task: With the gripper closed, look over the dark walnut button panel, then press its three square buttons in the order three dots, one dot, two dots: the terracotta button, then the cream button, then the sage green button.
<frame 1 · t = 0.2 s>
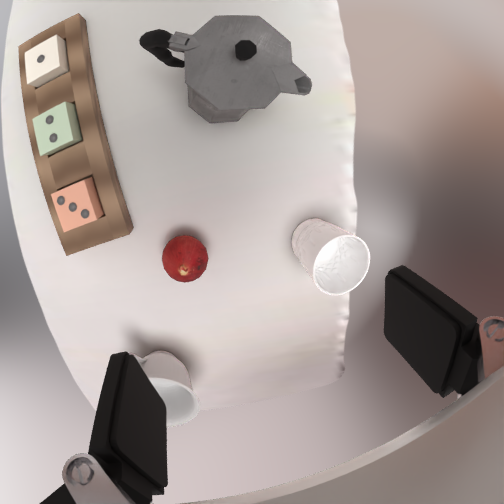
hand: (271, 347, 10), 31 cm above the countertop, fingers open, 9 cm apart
button one: (46, 61, 23), point 4 cm above the countertop, slide at 0.0 cm
button panel: (69, 129, 30), on the countertop
button three: (77, 204, 31), point 4 cm above the countertop, slide at 0.0 cm
white cup: (311, 239, 43), on the countertop
teacup: (157, 356, 45), on the countertop
coffeepot: (213, 88, 33), on the countertop
pomegranate: (185, 248, 40), on the countertop
button two: (57, 129, 27), point 4 cm above the countertop, slide at 0.0 cm
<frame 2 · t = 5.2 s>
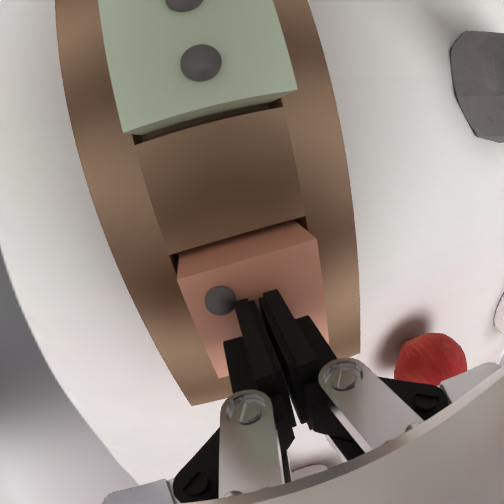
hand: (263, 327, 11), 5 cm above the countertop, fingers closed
button panel: (192, 72, 11), on the countertop
button three: (255, 297, 12), point 3 cm above the countertop, slide at 0.9 cm, touching gripper
teacup: (300, 470, 26), on the countertop
coffeepot: (474, 78, 14), on the countertop
pomegranate: (404, 342, 21), on the countertop
button two: (192, 44, 7), point 4 cm above the countertop, slide at 0.0 cm
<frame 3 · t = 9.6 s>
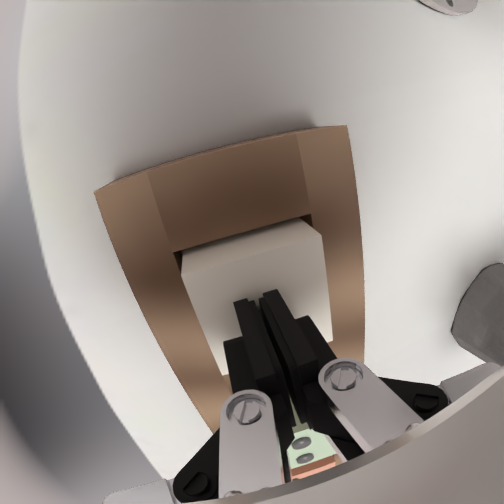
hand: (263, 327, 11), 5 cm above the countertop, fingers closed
button one: (259, 294, 12), point 3 cm above the countertop, slide at 1.0 cm, touching gripper
button panel: (279, 387, 19), on the countertop
button three: (303, 467, 20), point 3 cm above the countertop, slide at 1.3 cm
coffeepot: (474, 302, 21), on the countertop
button two: (296, 431, 15), point 4 cm above the countertop, slide at 0.0 cm
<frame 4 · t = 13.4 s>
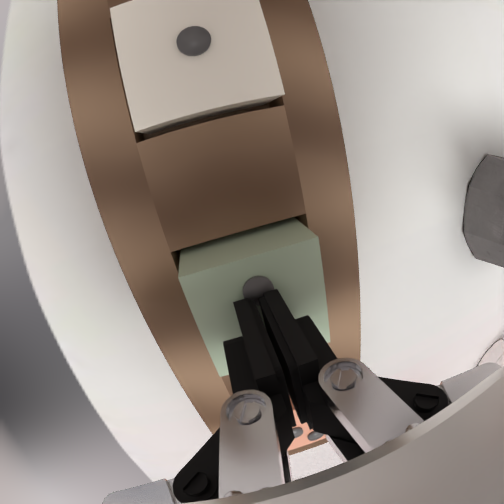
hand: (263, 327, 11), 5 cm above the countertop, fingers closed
button one: (193, 54, 9), point 3 cm above the countertop, slide at 1.3 cm
button panel: (243, 264, 15), on the countertop
button three: (287, 414, 17), point 3 cm above the countertop, slide at 1.3 cm
white cup: (488, 357, 28), on the countertop
coffeepot: (484, 201, 18), on the countertop
button two: (256, 296, 12), point 3 cm above the countertop, slide at 0.8 cm, touching gripper
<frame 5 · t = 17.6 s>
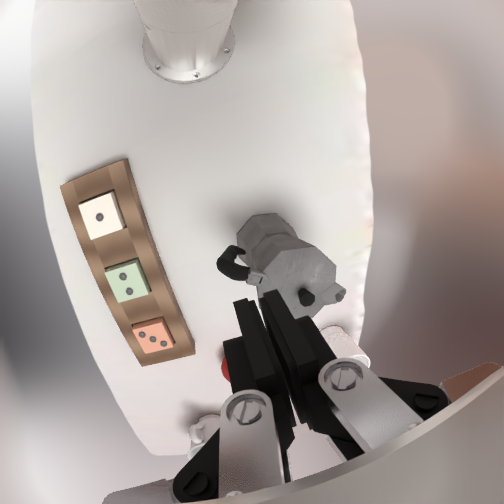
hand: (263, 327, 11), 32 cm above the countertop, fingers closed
button one: (103, 214, 35), point 3 cm above the countertop, slide at 1.3 cm
button panel: (131, 271, 42), on the countertop
button three: (153, 333, 43), point 3 cm above the countertop, slide at 1.3 cm
white cup: (328, 338, 54), on the countertop
teacup: (207, 417, 57), on the countertop
coffeepot: (258, 239, 44), on the countertop
pomegranate: (235, 353, 51), on the countertop
button two: (128, 279, 39), point 3 cm above the countertop, slide at 1.3 cm
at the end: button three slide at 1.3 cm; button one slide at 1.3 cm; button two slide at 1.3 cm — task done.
